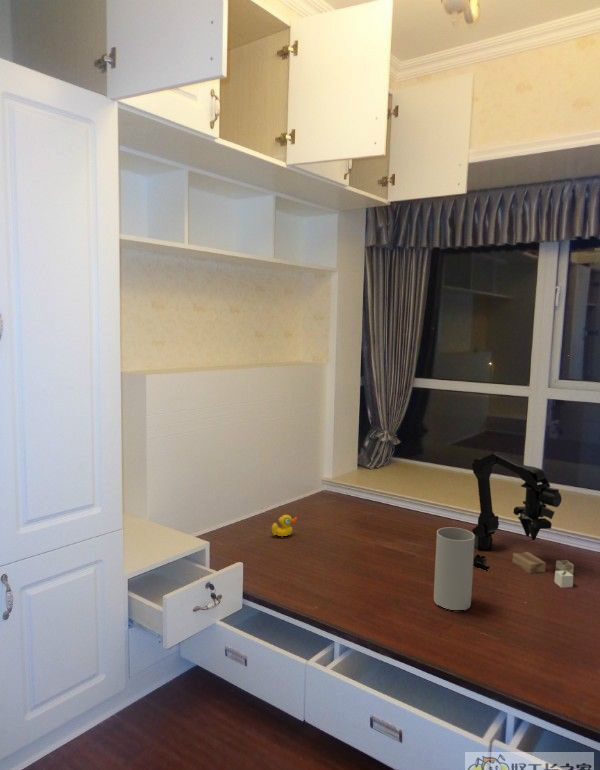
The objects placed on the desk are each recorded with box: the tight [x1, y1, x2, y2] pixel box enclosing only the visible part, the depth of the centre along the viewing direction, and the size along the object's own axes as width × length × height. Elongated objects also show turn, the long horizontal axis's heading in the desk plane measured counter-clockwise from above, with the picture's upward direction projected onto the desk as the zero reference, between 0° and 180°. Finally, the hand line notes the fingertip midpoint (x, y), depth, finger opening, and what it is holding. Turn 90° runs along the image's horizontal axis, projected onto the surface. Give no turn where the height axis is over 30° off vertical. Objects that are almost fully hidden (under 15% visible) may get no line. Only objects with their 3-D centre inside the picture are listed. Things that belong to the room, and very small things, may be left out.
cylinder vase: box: [433, 526, 475, 611], centre depth 197 cm, size 12×12×25 cm
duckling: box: [271, 514, 298, 536], centre depth 256 cm, size 11×5×10 cm, turn 103°
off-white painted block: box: [554, 570, 574, 589], centre depth 215 cm, size 4×4×5 cm
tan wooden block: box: [512, 551, 547, 574], centre depth 230 cm, size 7×11×4 cm, turn 16°
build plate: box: [473, 554, 491, 572], centre depth 229 cm, size 12×7×5 cm, turn 49°
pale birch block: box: [555, 559, 575, 576], centre depth 224 cm, size 4×4×5 cm
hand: (530, 538), depth 229 cm, fingers open, 4 cm apart
